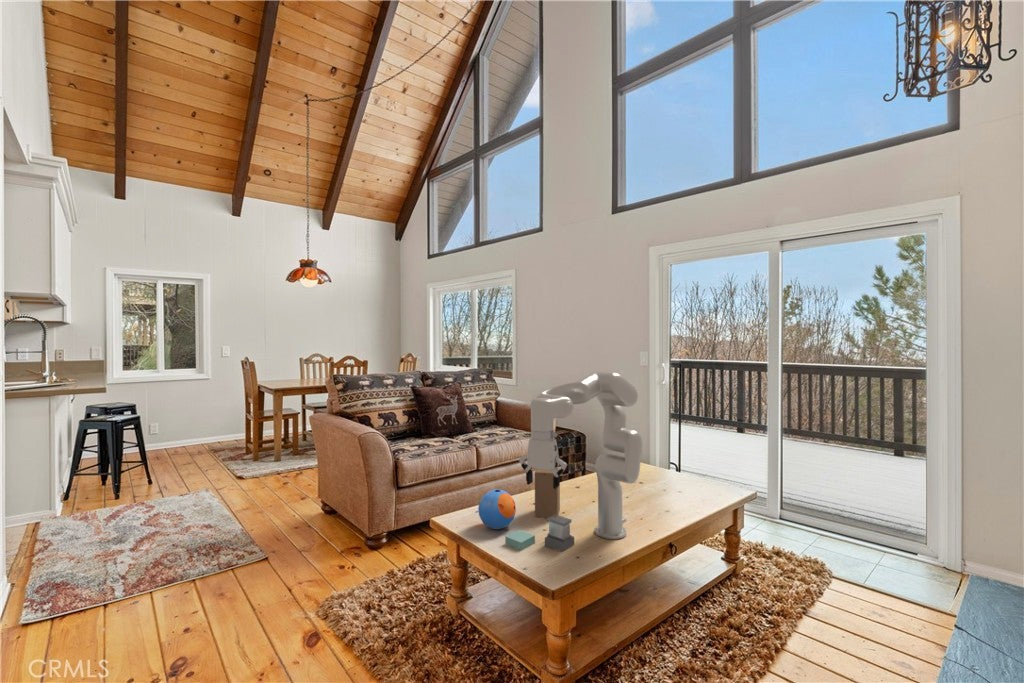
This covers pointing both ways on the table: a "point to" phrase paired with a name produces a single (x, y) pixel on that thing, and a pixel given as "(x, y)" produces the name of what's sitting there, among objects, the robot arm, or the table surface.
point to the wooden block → (546, 494)
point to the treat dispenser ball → (497, 509)
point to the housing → (559, 528)
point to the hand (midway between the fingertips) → (542, 485)
